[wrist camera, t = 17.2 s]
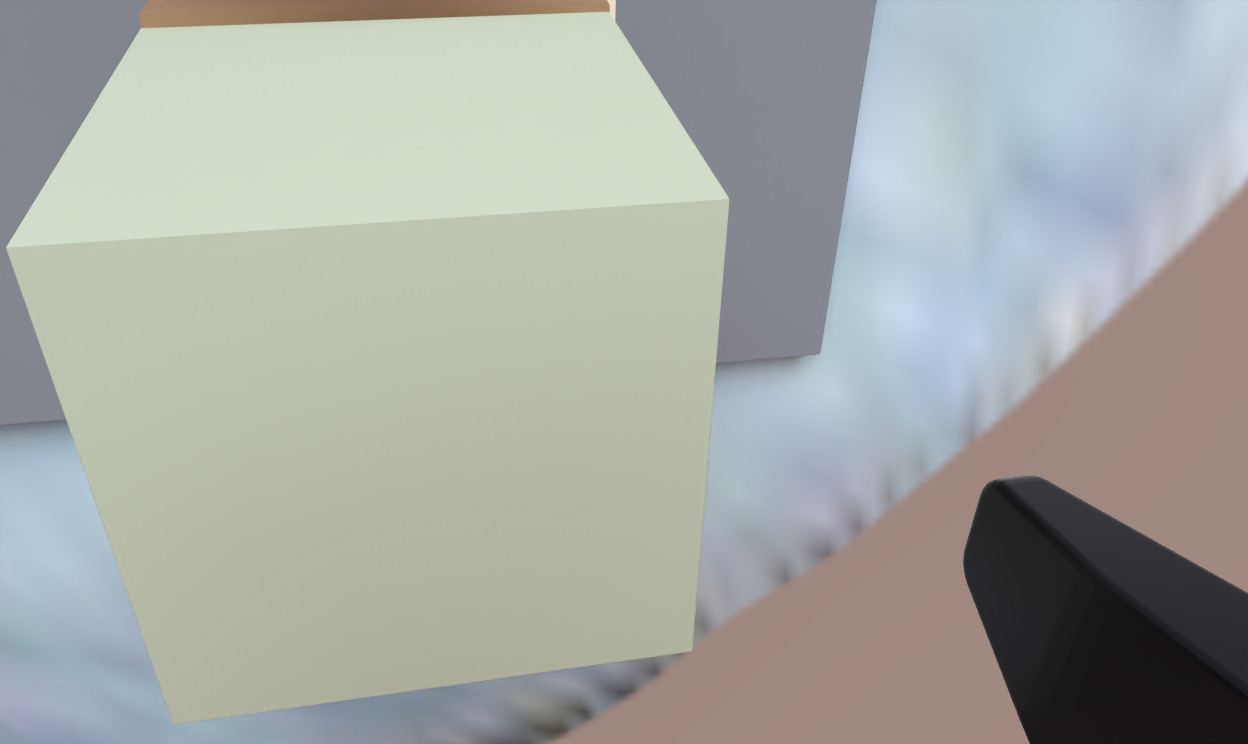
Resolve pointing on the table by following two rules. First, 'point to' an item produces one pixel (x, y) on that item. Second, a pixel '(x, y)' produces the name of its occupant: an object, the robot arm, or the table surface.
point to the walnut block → (343, 10)
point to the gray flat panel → (672, 55)
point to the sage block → (385, 351)
